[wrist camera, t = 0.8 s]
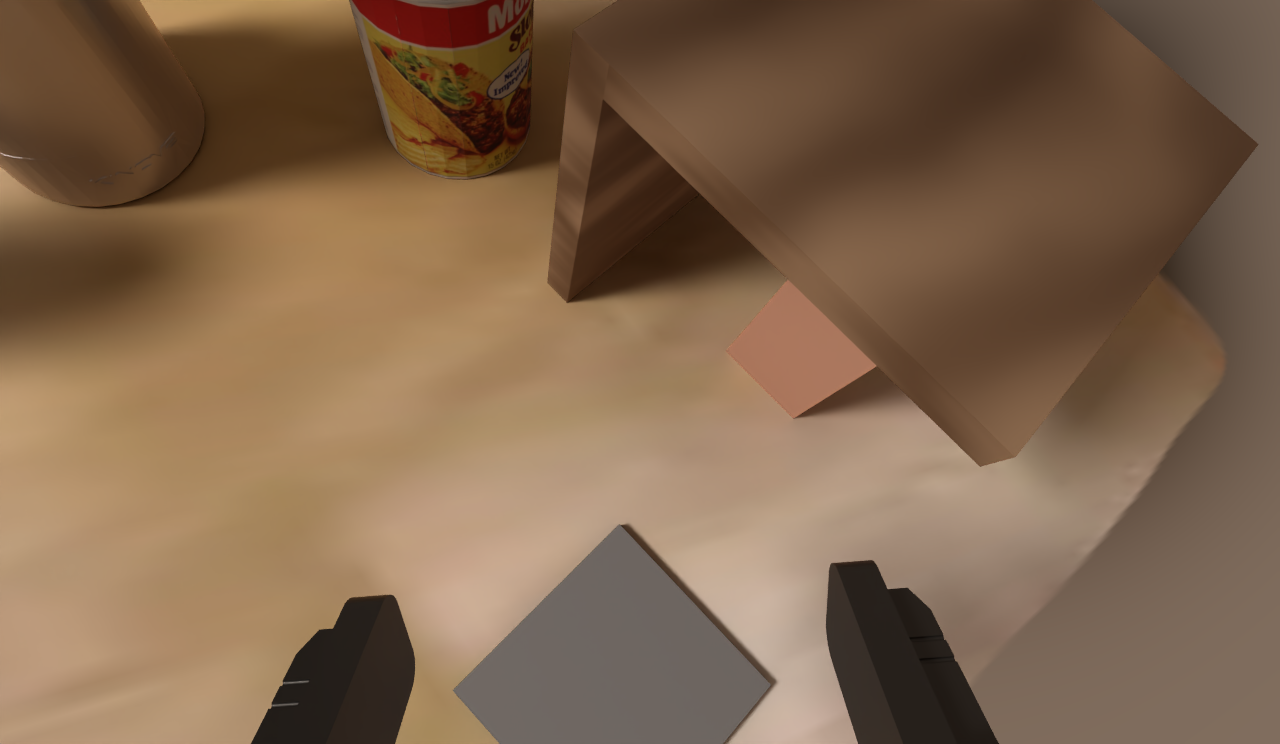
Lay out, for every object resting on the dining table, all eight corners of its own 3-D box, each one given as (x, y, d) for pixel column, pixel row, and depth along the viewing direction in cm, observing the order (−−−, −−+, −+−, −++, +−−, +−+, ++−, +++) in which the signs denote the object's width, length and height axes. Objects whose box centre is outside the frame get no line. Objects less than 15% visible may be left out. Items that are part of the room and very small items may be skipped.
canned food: (543, 170, 39) (554, -5, 27) (395, 188, 37) (341, 9, 26) (514, 53, 41) (514, -155, 29) (373, 64, 39) (314, -152, 28)
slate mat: (453, 688, 30) (453, 690, 30) (618, 525, 34) (619, 524, 33) (614, 870, 29) (615, 875, 29) (767, 683, 33) (771, 684, 32)
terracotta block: (725, 350, 37) (796, 269, 28) (785, 294, 39) (871, 199, 29) (793, 418, 37) (888, 358, 27) (850, 358, 38) (959, 282, 29)
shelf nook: (547, 282, 37) (572, 29, 20) (740, 127, 42) (888, -177, 25) (780, 521, 35) (1015, 457, 18) (952, 329, 40) (1258, 144, 24)
